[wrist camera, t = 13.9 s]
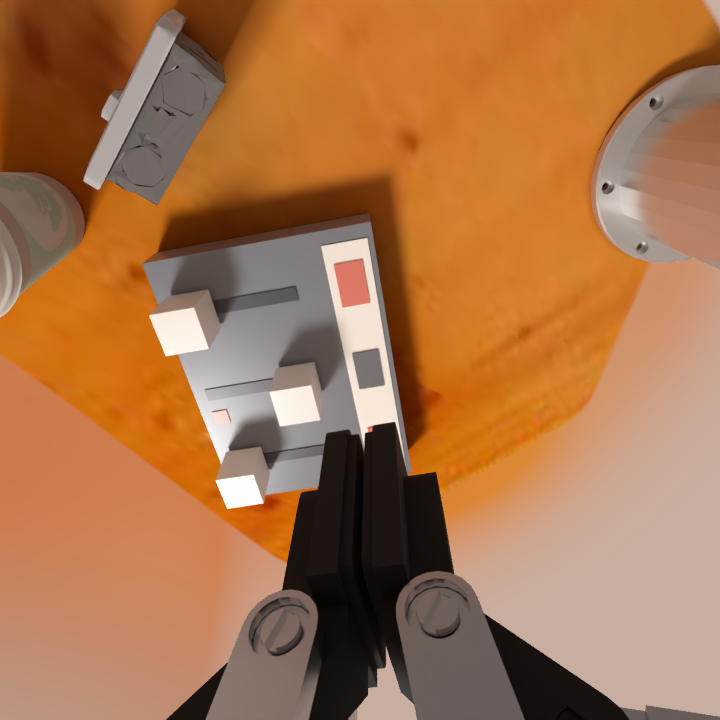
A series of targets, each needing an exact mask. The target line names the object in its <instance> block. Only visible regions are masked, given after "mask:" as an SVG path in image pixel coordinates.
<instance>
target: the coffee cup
mask: <svg viewBox="0 0 720 720" xmlns="http://www.w3.org/2000/svg"><path fill="white" fill-rule="evenodd" d="M84 232H85V219H84V214H83V211H82V209H81V206H80V204H79V203H78V201H77V199H76V198H75V196H74V195H73V194H72V193H71V192H70V191H69V189H67V188H66V187H65V186H64V185H63V184H61V183H60V182H59V181H57V180H55V179H54V178H52V177H49V176H47V175H44V174H41V173H35V172H0V317H1V316H3V315H4V314H5V313H7V312H8V311H9V310H10V309H11V307H12V306H13V305H14V303H15V302H16V300H17V298H18V296H19V295H20V294H21V293H23V292H24V291H25V290H26V289H27V288H29V287H30V286H31V285H32V284H33V283H35V282H36V281H37V280H38V279H39V278H41V277H42V276H43V275H44V274H45V273H47V272H48V271H49V270H50V269H51V268H53V267H54V266H55V265H56V264H57V263H59V262H60V261H61V260H62V259H63V258H65V257H66V256H67V255H68V254H69V253H70V252H72V251H73V250H74V249H75V248H76V247H77V246H78V245H79V244H80V242H81V241H82V239H83V236H84Z"/></svg>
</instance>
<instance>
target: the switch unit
mask: <svg viewBox="0 0 720 720" xmlns="http://www.w3.org/2000/svg"><path fill="white" fill-rule="evenodd" d="M142 265H143V267H144V270H145V273H146V275H147V278H148V280H149V283H150V285H151V288H152V290H153V293H154V295H155V298H156V300H157V303H158V305H160V304H161V303H162V301H163V300H164V299H165V298H166V297H167V296H173V295H178V294H184V293H190V292H195V291H201V290H207V289H208V290H209V293H210V296H211V299H212V302H213V304H214V307H215V310H216V313H217V316H218V319H219V322H220V325H221V329H220V331H219V333H218V334H217V336H216V338H215V339H214V341H213V343H212V345H211V346H210V348H209V349H205V350H199V351H194V352H188V353H182V354H178V356H179V358H180V361H181V363H182V366H183V369H184V371H185V374H186V376H187V379H188V381H189V384H190V386H191V389H192V391H193V394H194V396H195V399H196V401H197V404H198V406H199V409H200V412H201V414H202V417H203V419H204V422H205V424H206V427H207V429H208V432H209V434H210V437H211V439H212V442H213V444H214V447H215V449H216V452H217V454H218V457H219V460H220V462H221V464H222V462H223V459H224V456H225V453H226V452H229V451H235V450H241V449H248V448H254V447H261V449H262V452H263V455H264V458H265V461H266V464H267V466H268V469H269V472H270V476H269V481H268V485H267V490H266V495H267V494H274V493H281V492H287V491H294V490H301V489H308V488H314V487H318V486H319V479H320V472H321V465H322V458H323V451H324V444H325V437H326V434H327V433H330V432H336V431H342V430H348V429H349V430H350V432H351V434H352V435H354V434H359V436H360V439H361V442H362V446H363V450H364V441H365V433H367V432H372V427H373V425H378V424H384V423H390V422H395V423H396V426H397V430H398V435H399V439H400V444H401V448H402V452H403V457H404V461H405V466H406V470H407V474H409V473H412V472H411V466H410V460H409V454H408V448H407V442H406V435H405V429H404V423H403V417H402V411H401V405H400V399H399V392H398V386H397V380H396V374H395V368H394V362H393V356H392V349H391V343H390V337H389V331H388V325H387V319H386V313H385V306H384V300H383V294H382V288H381V282H380V276H379V270H378V263H377V257H376V251H375V245H374V239H373V233H372V227H371V221H370V215H369V213H367V214H361V215H356V216H351V217H345V218H340V219H334V220H329V221H324V222H318V223H313V224H307V225H302V226H296V227H291V228H286V229H280V230H275V231H269V232H264V233H258V234H253V235H248V236H242V237H237V238H231V239H226V240H221V241H215V242H210V243H204V244H199V245H193V246H188V247H183V248H177V249H172V250H166V251H161V252H157V253H156V254H154V255H153V256H152V257H150V258H149V259H148V260H146V261H145V262H144V263H142ZM310 362H315V366H316V370H317V374H318V378H319V382H320V386H321V390H322V394H323V397H322V407H321V418H320V420H319V421H312V422H306V423H300V424H293V425H287V426H281V427H280V425H279V422H278V418H277V415H276V412H275V409H274V406H273V402H272V399H271V396H270V393H269V391H270V388H271V384H272V381H273V377H274V374H275V370H276V368H280V367H286V366H292V365H298V364H304V363H310Z"/></svg>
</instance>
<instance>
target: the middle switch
mask: <svg viewBox="0 0 720 720" xmlns="http://www.w3.org/2000/svg"><path fill="white" fill-rule="evenodd" d="M269 393H270V396H271V399H272V402H273V406H274V409H275V412H276V415H277V418H278V422H279V425H280V427H281V426H287V425H293V424H300V423H306V422H312V421H319V420H320V418H321V407H322V397H323V394H322V390H321V386H320V382H319V378H318V374H317V370H316V366H315V362H310V363H304V364H298V365H292V366H286V367H280V368H276V370H275V374H274V377H273V381H272V384H271V388H270V391H269Z"/></svg>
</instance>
